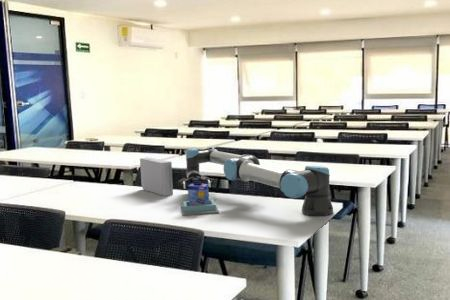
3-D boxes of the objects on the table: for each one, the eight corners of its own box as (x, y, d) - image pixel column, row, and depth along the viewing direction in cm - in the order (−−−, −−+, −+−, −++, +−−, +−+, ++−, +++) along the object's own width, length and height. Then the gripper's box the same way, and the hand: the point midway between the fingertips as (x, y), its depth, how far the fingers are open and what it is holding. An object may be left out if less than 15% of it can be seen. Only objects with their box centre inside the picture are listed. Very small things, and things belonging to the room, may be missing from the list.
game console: (164, 196, 290) (163, 163, 287) (141, 189, 311) (139, 158, 308) (173, 194, 294) (171, 161, 291) (149, 188, 315) (147, 157, 312)
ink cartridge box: (188, 208, 256) (187, 181, 254) (191, 206, 261) (190, 179, 259) (206, 209, 253) (205, 181, 251) (209, 206, 258) (208, 179, 256)
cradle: (218, 213, 248) (218, 206, 248) (183, 215, 246) (182, 209, 246) (214, 203, 268) (214, 197, 268) (181, 206, 266) (180, 199, 265)
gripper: (216, 183, 288) (220, 190, 267) (172, 185, 284) (174, 193, 263) (215, 170, 286) (220, 177, 266) (172, 172, 283) (173, 179, 262)
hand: (197, 185), depth 264 cm, fingers open, 13 cm apart
